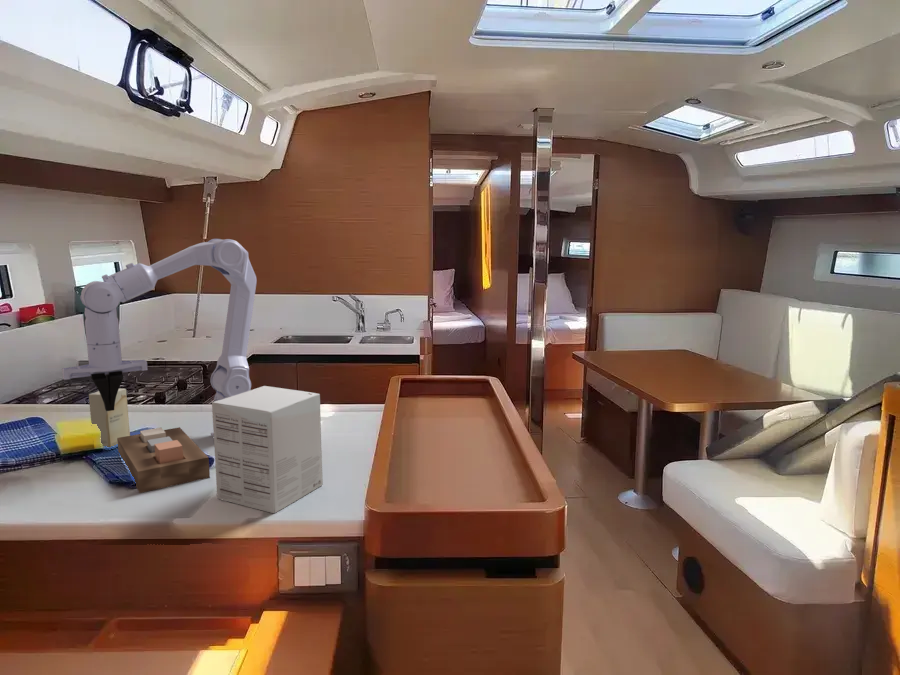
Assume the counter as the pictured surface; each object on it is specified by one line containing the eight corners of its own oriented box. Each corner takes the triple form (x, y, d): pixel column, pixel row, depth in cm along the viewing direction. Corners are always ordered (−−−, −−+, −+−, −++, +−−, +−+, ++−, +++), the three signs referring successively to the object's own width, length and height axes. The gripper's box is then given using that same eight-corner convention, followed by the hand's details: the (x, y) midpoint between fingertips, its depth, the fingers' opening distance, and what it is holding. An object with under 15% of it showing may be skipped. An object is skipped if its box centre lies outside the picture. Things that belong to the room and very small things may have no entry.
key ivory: (162, 443, 128) (161, 427, 128) (166, 448, 125) (165, 432, 124) (141, 447, 126) (140, 430, 125) (145, 452, 123) (144, 436, 122)
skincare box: (110, 451, 128) (105, 395, 126) (92, 450, 129) (87, 394, 127) (131, 441, 134) (127, 388, 132) (114, 440, 135) (109, 386, 133)
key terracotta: (178, 457, 117) (177, 439, 116) (183, 463, 114) (182, 445, 113) (155, 461, 115) (154, 444, 114) (160, 468, 111) (159, 450, 111)
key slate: (170, 453, 123) (169, 436, 122) (175, 458, 120) (173, 441, 119) (148, 457, 120) (147, 440, 120) (152, 463, 117) (151, 445, 117)
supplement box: (268, 472, 118) (264, 384, 115) (324, 485, 112) (321, 392, 109) (215, 499, 106) (209, 401, 103) (274, 514, 100) (270, 411, 97)
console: (180, 445, 132) (179, 427, 132) (209, 477, 115) (208, 457, 114) (118, 456, 125) (117, 437, 125) (139, 493, 108) (137, 471, 107)
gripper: (140, 336, 127) (145, 399, 130) (58, 343, 119) (65, 410, 121) (147, 341, 122) (152, 407, 124) (61, 349, 113) (68, 419, 116)
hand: (109, 409), depth 122 cm, fingers closed
